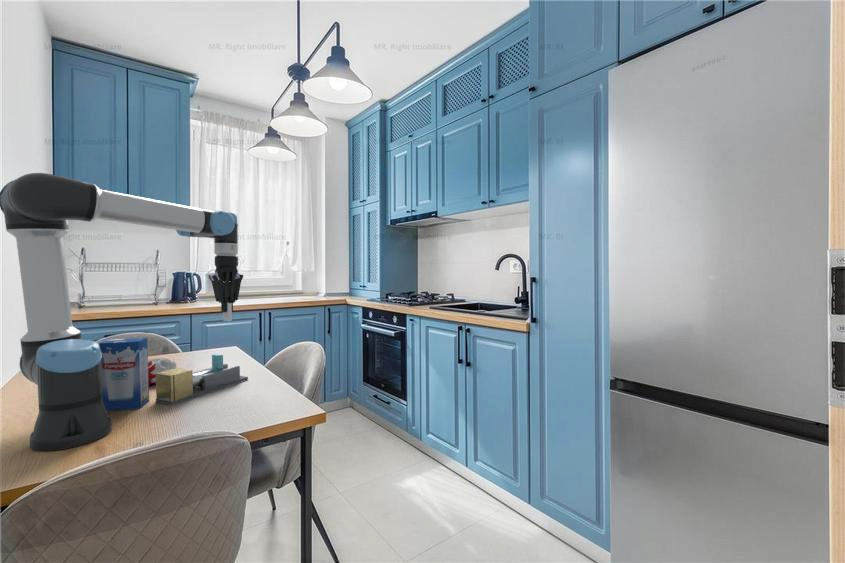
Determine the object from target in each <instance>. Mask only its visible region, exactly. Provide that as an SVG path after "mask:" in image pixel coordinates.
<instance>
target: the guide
mask: <svg viewBox="0 0 845 563" xmlns="http://www.w3.org/2000/svg"><path fill="white" fill-rule="evenodd" d="M228 366H229V365H228V364H227V363H223V370H220V371H216V372H213V373H209V374H206V375H202V384H200V385H197V386H194V387H193V374H195V373H199V372H202V371H206V370H210V369H212V367H208V368H205V369H201V370H198V371H194V372H193V369H189V368H182V367H177V368H175V369H171V370H167V371H163V372H159V373H156V383H155V390H156V391H155V393H156V394H155V396H156V398H157V399H160V400H165V401H170V402H173V401H176V400H179V399H182V398H185V397H188V396H191V395H193V388H194V389H197V390H203V391H206V390H209V389H213V388H216V387H219V386H222V385H225V384H228V383H231V382H234V381H237V380H240V376H241V366H240V365H234V366H229V367H228ZM156 398H155V399H156Z"/></svg>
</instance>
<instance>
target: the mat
mask: <svg viewBox="0 0 845 563" xmlns="http://www.w3.org/2000/svg"><path fill="white" fill-rule="evenodd" d="M247 379H248V380H249V377H248V376H245V375H244V376H243V375H240V380H237V381H234V382H231V383H228V384H225V385H222V386H219V387H216V388H213V389H209V390H206V391H203V390H197V389H194V388H193V395H191V396H188V397H185V398H182V399H179V400H176V401H173V402H170V401H165V400H160V399H157V398H155V402H156V403H160V404H165V405H169V406H175V405H178V404H181V403H183V402H186V401H189V400H192V399H194V398H198V397H201V396H204V395H207V394H209V393H213V392H215V391H218V390H221V389H224V388H228V387H230V385H231V386H233V384H234V385H236V383H237V384H239V383H238V382H240V383H242V382H241V381H243V382H245V381H248V380H247ZM244 380H245V381H244ZM227 386H228V387H227Z"/></svg>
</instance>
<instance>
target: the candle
mask: <svg viewBox="0 0 845 563" xmlns="http://www.w3.org/2000/svg"><path fill="white" fill-rule="evenodd" d="M175 368H178V366H177V363H176V361H175V360H173V359H170V358H167V357H153V358H148V379H149V386H153V385H156V373H159V372H163V371H167V370H171V369H175Z"/></svg>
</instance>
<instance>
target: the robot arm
mask: <svg viewBox="0 0 845 563" xmlns="http://www.w3.org/2000/svg"><path fill="white" fill-rule="evenodd" d="M0 211H2V213H3V215H4V222H5V224H4V225H5V230H6V232H7V233H9V234H10V235H12V236H13V237H14V238H15V240H16V248H17V255H18V262H19V264H18V265H19V272H20V279H21V288H22V295H23V303H24V304H23V306H24V312H25V318H26V319H25V320H26V327H27V328H26V329H27V332H26V333H25V334H24V335H23V336H22V337H21V338H20V341H19V342H20V348H21V356H20V358H19V370H20V372H21V374H22V375H23V376H24V377H25V378H26V379H27V380H28V381H30V382H32V383H34V384H35V385H37V395H38V396H37V397H38V398H37V399H38V414H37V417H36V420H35V423H34V426H33V431H32V432H31V433H30V435H29V448H30V449H31V450H33V451H37V452H38V451H39V452H51V451H59V450H60V451H61V450H66V449H70V448H76V447H80V446H83V445H86V444H88V443H89V444H90V443H92V442H95V441H97V440H100V439H101V438H104V437H105V436H107V435H108V434H110V433H111V431H113V420H112V418H111V417H110V416H109V414H108V411H107V410H106V408H105V406H104V403H103V401H102V375H101V358H102V354H101V352H100V346H99V343H98V342H96V341H94V340H91V339H83V338H82V332H81V330H80V329H78V328H76V327H74V325H73V319H72V311H71V310H72V309H71V300H70V292H69V282H68V276H67V267H66V260H65V249H64V240H63V238H64V237H65V235H67V234H68V233H69V232H70V226H69V225H70V224H69V221H81V222H82V221H83V222H89V223H91V222H93V221H95V220H96V219H97V220H104V221H111V222H118V223H124V224H133V225H140V226H145V227H152V228H153V227H155V228H160V229H161V228H162V229H167V230H168V229H169V230H175V231H176V233H177V234H178V235H179V236H181V237H187V238H208V239H209V238H210V239H213V244H214V245H213V247H214V251H213V252H214V255H215V256H214V266H215V270H214V273H213V274H209V275H208V279H209V280H210V282H211V286H212V290H213V295H214V299H215V301H216V302H218V303H219V304H220V307H221V309H220V310H221V312H222V321H223V322H232V321H233V311H234V303H236V301H238V300H239V297H240V296H239V295H240V289H241V285H242V280H243V279H244V275H243V274H241V273H239V270H238V266H239V257H238V256H237V255H238V254H239V246H238V245H239V244H238V242H239V241H238V237H239V236H238V233H239V232H238V230H239V229H238V226H239V224H238V216H237V214H236V213H235V212H234V211H224V210H215V211H214V210H209V209H203V208H199V207H194V206H188V205H183V204H180V203H179V204H178V203H171V202H168V201H163V200H157V199H152V198H147V197H142V196H136V195H132V194H126V193H122V192H117V191H112V190H111V191H110V190H106V189H101V188H99V187H98V186H97V185H96V184H95V183H91V182H86V181H82V180H77V179H73V178H69V177H65V176H60V175H55V174H52V173H45V172H32V173H27V174H24V175H21V176H20V177H18V178H16V179H13V180H11V181H8V182H7V183H6V184H5V185H4V186H3V187H2V189H1V191H0Z"/></svg>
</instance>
